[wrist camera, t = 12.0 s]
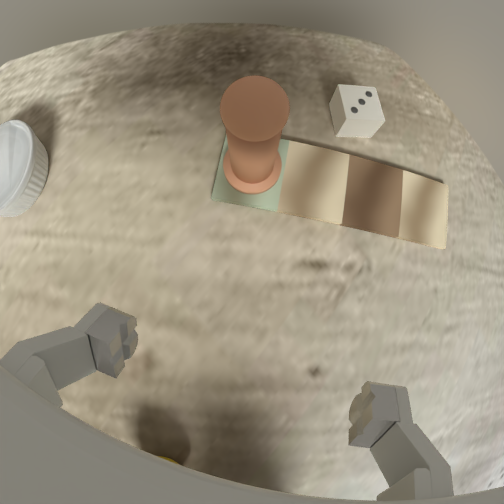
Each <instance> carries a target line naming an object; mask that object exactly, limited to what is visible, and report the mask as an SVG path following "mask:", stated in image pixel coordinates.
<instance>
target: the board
mask: <svg viewBox="0 0 504 504" xmlns="http://www.w3.org/2000/svg"><path fill="white" fill-rule="evenodd" d="M228 149H229V148H228V141H227V134H226V137H225V141H224V145H223V150H222V154H221V158H220V162H219V166H218V170H217V175H216V179H215V183H214V187H213V192H212V196H211V199H212V200H215V201H220V202H226V203H232V204H237V205H243V206H248V207H253V208H259V209H264V210H269V211H274V212H279V213H284V214H289V215H294V216H299V217H304V218H309V219H314V220H319V221H323V222H328V223H333V224H337V225H342V226H346V227H351V228H355V229H360V230H364V231H369V232H373V233H377V234H381V235H386V236H390V237H394V238H398V239H402V240H406V241H411V242H415V243H419V244H423V245H427V246H430V247H434V248H438V249H446V237H447V220H448V185H446V184H443V183H440V182H437V181H434V180H432V179H429V178H426V177H423V176H420V175H417V174H414V173H411V172H408V171H405V170H402V169H398V168H395V167H392V166H389V165H385V164H382V163H379V162H375V161H372V160H368V159H364V158H361V157H357V156H353V155H350V154H346V153H342V152H338V151H334V150H330V149H326V148H321V147H317V146H313V145H308V144H304V143H299V142H294V141H289V140H284V139H280V142H279V146H278V152H279V154H280V157H281V161H282V168H281V173H280V176H279V178H278V180H277V182H276V183H275V185H274V186H273V187H272V188H270V189H269V190H267V191H266V192H263V193H260V194H245V193H242V192H239V191H237V190H236V189H234V188H233V187H232V186H231V185H230V184H229V183H228V181H227V179H226V177H225V174H224V169H223V160H224V156H225V154H226V152H227V150H228Z"/></svg>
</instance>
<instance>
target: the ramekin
mask: <svg viewBox="0 0 504 504" xmlns="http://www.w3.org/2000/svg"><path fill="white" fill-rule="evenodd" d="M47 174H48V155H47V152H46V149H45V147H44V145H43V144H42V143H41V142H40V140H39V139H38V138H37V137H36V135H35V134H34V131H33V130H32V128H31V127H30V126H29V125H28V124H27V123H25V122H23V121H21V120H10V121H7V122H4V123H3V124H1V125H0V216H1V217H15V216H17V215H20V214H22V213H24V212H25V211H26V210H28V209H29V208H30V207H31V206H32V205H33V204H34V202H35V201H36V200H37V199H38V197H39V195H40V194H41V192H42V190H43V187H44V185H45V182H46V179H47Z"/></svg>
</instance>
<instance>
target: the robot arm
mask: <svg viewBox="0 0 504 504" xmlns="http://www.w3.org/2000/svg"><path fill="white" fill-rule="evenodd" d="M136 326H137V321H136V318H135V317H134V316H132V315H129V314H127V313H124V312H122V311H120V310H117V309H115V308H113V307H110V306H108V305H105V304H103V303H101V302H100V303H97V304H96V305H95V306H94V307H93V308H92V309H91V310H90V311H89V312H88V313H87V314H86V315H85V316H84V317H83V318H82V319H81V320H80V321H79V322H78V323H77V324H76V325H75V326H74V327H71V326H69V327H66V328H63V329H59V330H56V331H53V332H50V333H46V334H43V335H40V336H36V337H33V338H30V339H26V340H23V341H20V342H17V343H16V344H15V345H14V346H13V347H12V348H11V349H10V350H9V352H8V353H7V354H6V355H5V356H4V357H3V358H2V359H1V360H0V504H504V486H503V487H499V488H495V489H490V490H485V491H480V492H475V493H469V494H463V495H456V496H454V493H453V484H452V476H451V469H450V466H449V464H448V463H447V462H446V460H445V459H444V458H443V457H442V455H441V454H440V453H439V452H438V450H437V449H436V448H435V447H434V445H433V444H432V443H431V442H430V440H429V439H428V438H427V436H426V435H425V434H424V433H423V431H422V430H421V429H420V428H419V426H418V425H417V424H413V420H412V414H411V408H410V402H409V396H408V391H407V388H406V387H402V386H395V385H389V384H382V383H376V382H370V381H367V382H366V383H364V385H363V386H362V393H360V394H358V395H356V396H355V398H354V400H353V401H352V404H351V407H350V411H349V420H350V422H351V423H352V427H351V428H350V429H349V445H350V446H357V447H365V448H370V451H371V453H372V455H373V456H374V458H375V460H376V462H377V464H378V466H379V468H380V470H381V472H382V473H383V475H384V477H385V479H386V481H387V483H388V485H389V488H388V489H386V490H385V491H383V492H382V493H380V494H379V495H378V496H377V501H367V500H346V499H333V498H322V497H313V496H306V495H298V494H292V493H286V492H280V491H274V490H269V489H264V488H259V487H255V486H250V485H246V484H242V483H238V482H234V481H230V480H226V479H223V478H219V477H216V476H212V475H209V474H206V473H202V472H199V471H196V470H193V469H190V468H187V467H184V466H181V465H179V464H176V463H173V462H170V461H168V460H165V459H163V458H160V457H157V456H155V455H153V454H150V453H148V452H145V451H143V450H141V449H138V448H136V447H134V446H132V445H129V444H127V443H125V442H123V441H121V440H119V439H117V438H115V437H112V436H110V435H108V434H106V433H104V432H103V431H101V430H99V429H97V428H95V427H93V426H91V425H89V424H87V423H86V422H84V421H82V420H80V419H79V418H77V417H75V416H73V415H72V414H70V413H68V412H67V411H65V410H63V409H62V408H60V407H61V406H62V405H63V403H62V399H61V397H60V395H59V393H58V390H60V389H62V388H64V387H66V386H68V385H70V384H72V383H74V382H76V381H78V380H80V379H82V378H84V377H86V376H88V375H90V374H92V373H94V372H96V370H98V371H100V372H102V373H105V374H107V375H109V376H111V377H114V378H117V377H118V375H119V374H120V372H121V371H122V370H123V368H124V367H125V363H124V360H126V359H129V358H131V357H132V355H133V354H134V352H135V349H136V347H137V343H138V334H137V332H136V331H135V330H134V328H135V327H136Z"/></svg>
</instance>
